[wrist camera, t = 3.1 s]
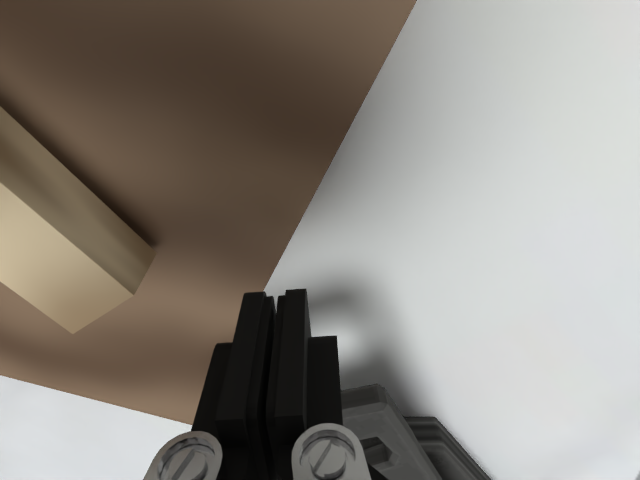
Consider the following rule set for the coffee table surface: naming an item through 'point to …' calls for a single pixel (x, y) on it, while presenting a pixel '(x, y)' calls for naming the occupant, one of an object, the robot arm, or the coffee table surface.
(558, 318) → the coffee table surface
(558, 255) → the coffee table surface
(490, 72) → the coffee table surface
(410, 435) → the zipper pull
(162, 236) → the walnut board
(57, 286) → the link
